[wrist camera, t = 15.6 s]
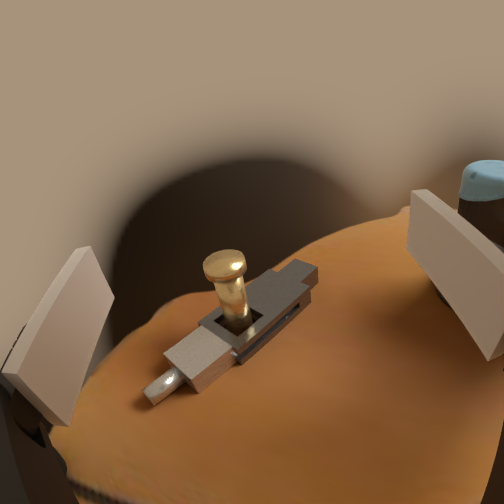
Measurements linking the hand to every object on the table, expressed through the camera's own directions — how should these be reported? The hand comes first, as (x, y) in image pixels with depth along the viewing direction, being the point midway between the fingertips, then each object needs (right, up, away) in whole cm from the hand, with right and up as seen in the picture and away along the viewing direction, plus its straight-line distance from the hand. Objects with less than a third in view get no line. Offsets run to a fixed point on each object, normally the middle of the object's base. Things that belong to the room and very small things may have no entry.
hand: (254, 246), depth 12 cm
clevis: (-2, -13, +37) cm, 39 cm away
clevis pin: (-2, -13, +37) cm, 39 cm away
